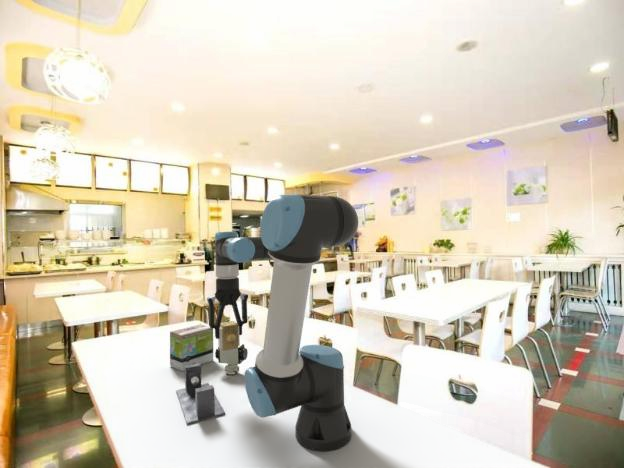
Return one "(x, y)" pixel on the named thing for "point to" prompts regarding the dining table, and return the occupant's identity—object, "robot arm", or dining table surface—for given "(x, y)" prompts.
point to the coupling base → (198, 397)
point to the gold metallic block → (229, 335)
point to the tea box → (191, 346)
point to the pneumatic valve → (232, 358)
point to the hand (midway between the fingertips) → (229, 346)
